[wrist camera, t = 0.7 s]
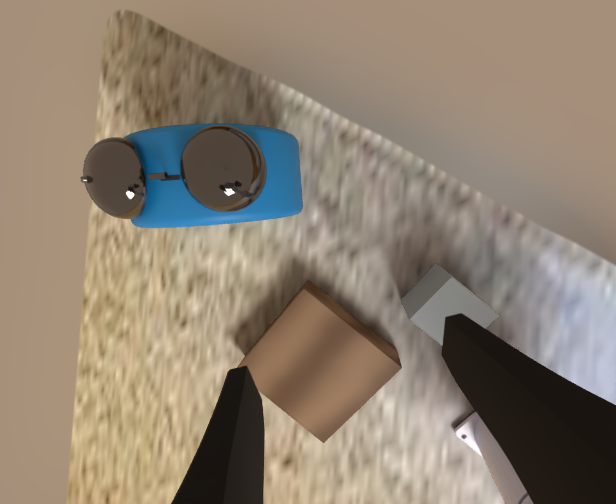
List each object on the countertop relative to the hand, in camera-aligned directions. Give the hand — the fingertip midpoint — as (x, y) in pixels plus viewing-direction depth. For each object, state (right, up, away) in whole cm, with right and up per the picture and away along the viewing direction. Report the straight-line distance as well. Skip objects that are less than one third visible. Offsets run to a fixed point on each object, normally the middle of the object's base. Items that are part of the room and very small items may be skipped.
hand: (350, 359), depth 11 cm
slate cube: (+11, -1, +19) cm, 22 cm away
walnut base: (0, -7, +22) cm, 23 cm away
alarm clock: (-8, +11, +20) cm, 24 cm away
